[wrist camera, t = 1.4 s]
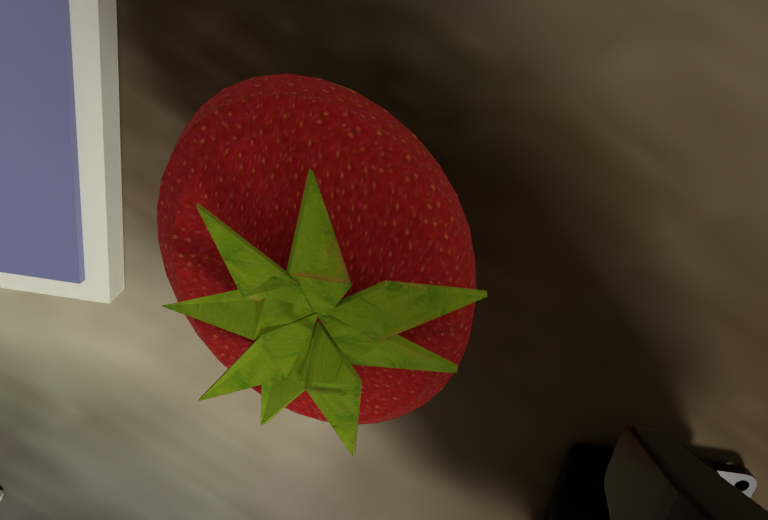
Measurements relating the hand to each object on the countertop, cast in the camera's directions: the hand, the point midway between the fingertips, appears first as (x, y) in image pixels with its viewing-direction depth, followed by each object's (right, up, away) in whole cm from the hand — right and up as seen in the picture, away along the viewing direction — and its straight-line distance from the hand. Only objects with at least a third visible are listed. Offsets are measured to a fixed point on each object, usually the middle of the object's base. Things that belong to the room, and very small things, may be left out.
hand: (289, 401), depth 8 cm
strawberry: (0, +4, +9) cm, 10 cm away
